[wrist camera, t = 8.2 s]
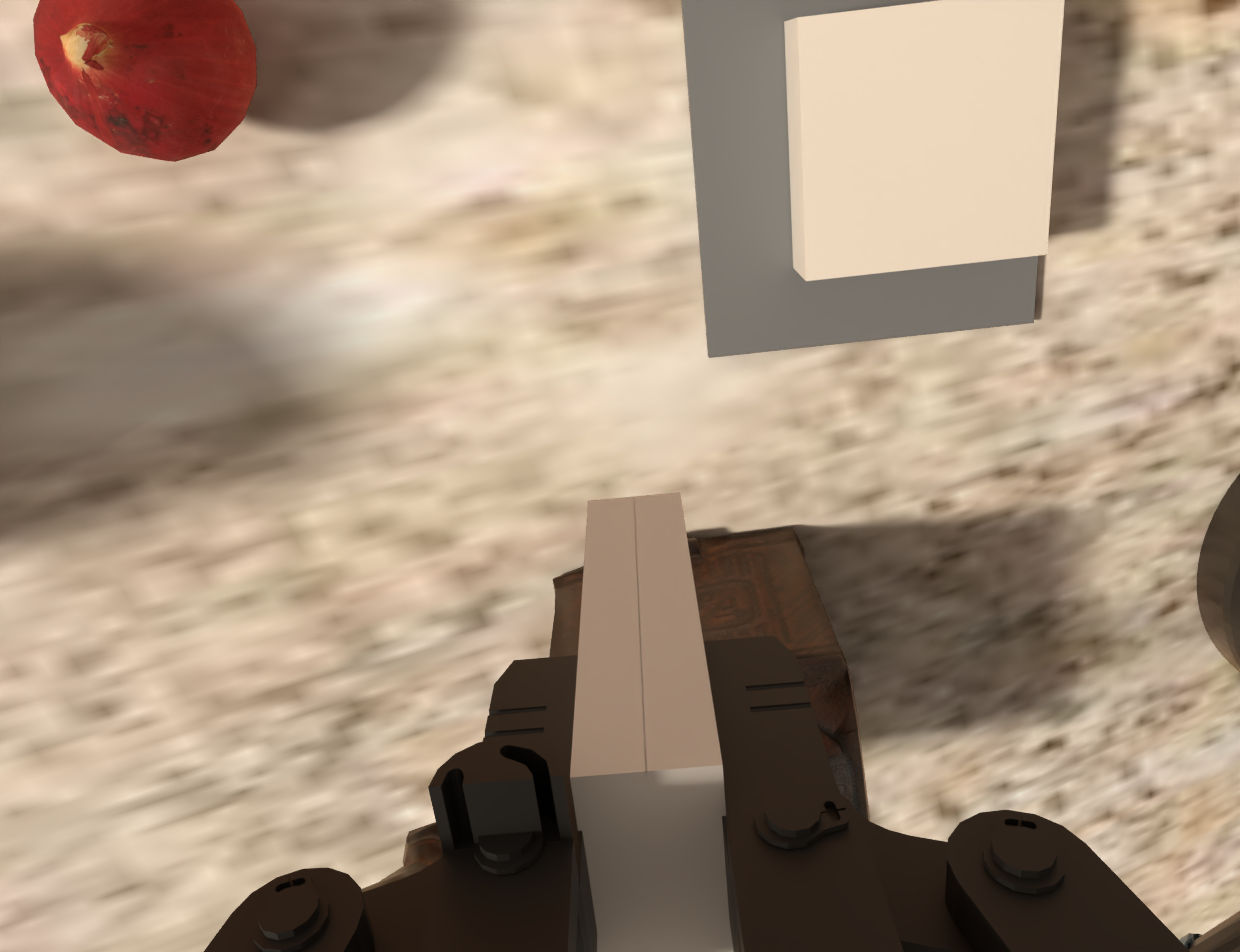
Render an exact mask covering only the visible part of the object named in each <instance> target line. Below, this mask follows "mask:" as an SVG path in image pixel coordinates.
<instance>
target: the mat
mask: <svg viewBox="0 0 1240 952" xmlns="http://www.w3.org/2000/svg"><path fill="white" fill-rule="evenodd" d="M681 1H682V15H683V28H684V41H685V55H686V68H687V82H688V95H689V108H690V122H691V135H692V148H693V162H694V175H695V189H696V202H697V215H698V229H699V242H700V255H701V269H702V282H703V295H704V309H705V322H706V336H707V349H708V357H709V358H712V357H721V356H731V355H740V354H749V353H758V352H768V351H777V350H786V349H796V348H805V347H814V346H823V345H833V344H842V343H851V342H860V341H870V340H879V339H888V338H897V337H907V336H916V335H925V334H935V333H944V332H953V331H962V330H972V329H981V328H990V327H999V326H1009V325H1018V324H1027V323H1034V311H1035V296H1036V280H1037V265H1038V256H1030V257H1021V258H1012V259H1003V260H994V261H985V262H976V263H967V264H958V265H949V266H940V267H931V268H922V269H913V270H904V271H895V272H886V273H876V274H867V275H858V276H849V277H840V278H831V279H822V280H813V281H805V280H804V279H803V278H802V277H801V276H800V275H799V273H798V272H797V271H796V270H795V269H794V268H793V249H792V222H791V194H790V167H789V140H788V113H787V86H786V58H785V31H784V22H785V21H788V20H791V19H794V18H797V17H805V16H814V15H822V14H830V13H839V12H847V11H855V10H863V9H872V8H880V7H888V6H897V5H905V4H913V3H922V2H930V1H938V0H681Z"/></svg>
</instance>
